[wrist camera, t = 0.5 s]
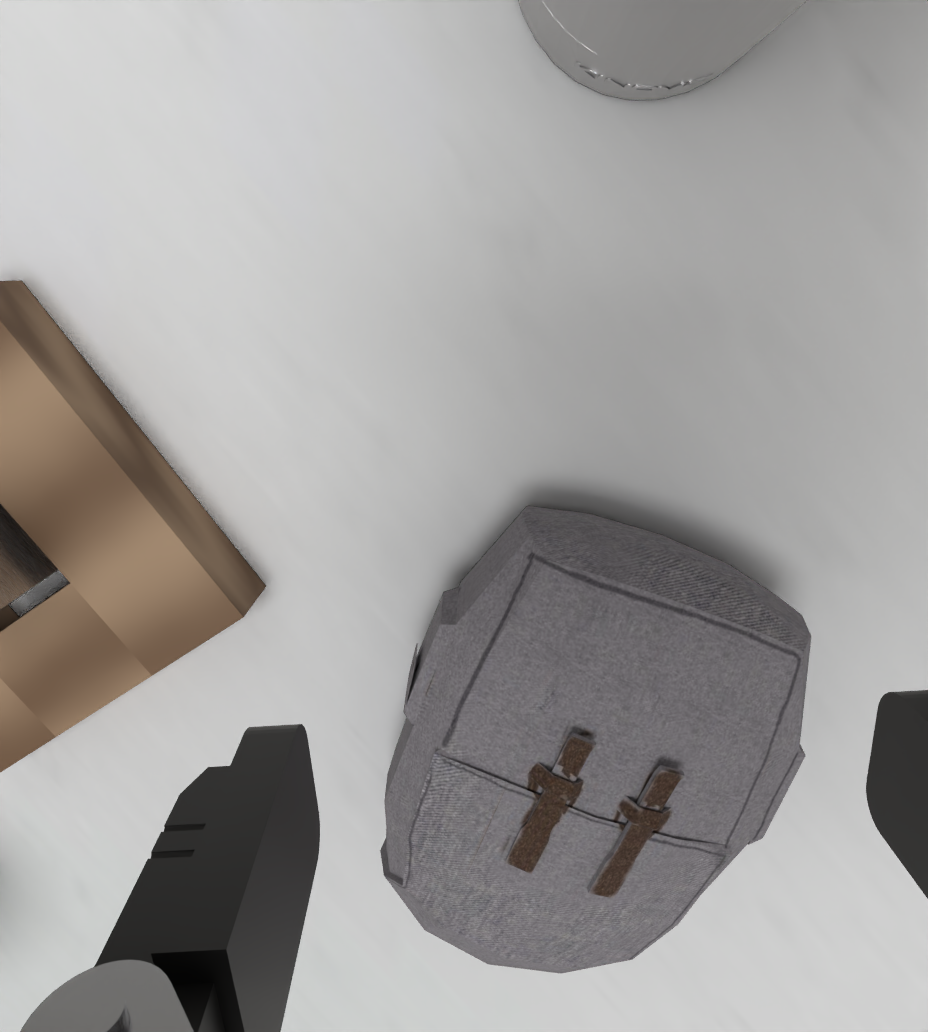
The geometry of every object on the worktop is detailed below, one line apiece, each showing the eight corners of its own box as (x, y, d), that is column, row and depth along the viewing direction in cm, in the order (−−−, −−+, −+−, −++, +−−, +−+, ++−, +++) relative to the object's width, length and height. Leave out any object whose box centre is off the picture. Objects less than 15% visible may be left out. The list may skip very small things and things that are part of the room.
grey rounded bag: (483, 455, 30) (339, 833, 36) (477, 522, 22) (294, 990, 28) (825, 579, 31) (628, 926, 37) (936, 685, 23) (662, 1104, 29)
